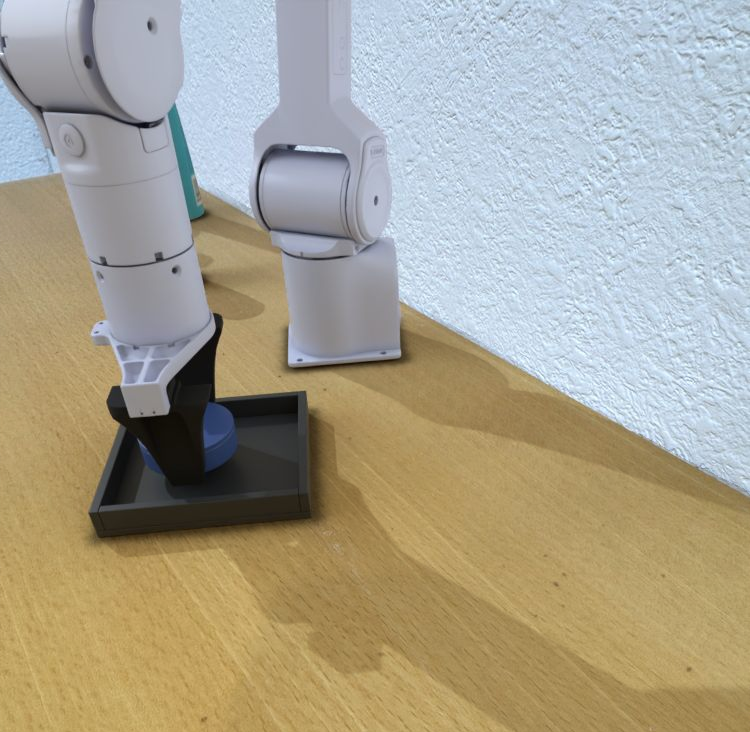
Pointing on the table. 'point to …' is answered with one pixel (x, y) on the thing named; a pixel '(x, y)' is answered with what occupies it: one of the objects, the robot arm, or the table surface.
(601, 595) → the table surface
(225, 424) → the lid
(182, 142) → the tube
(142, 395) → the robot arm
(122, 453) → the tray
